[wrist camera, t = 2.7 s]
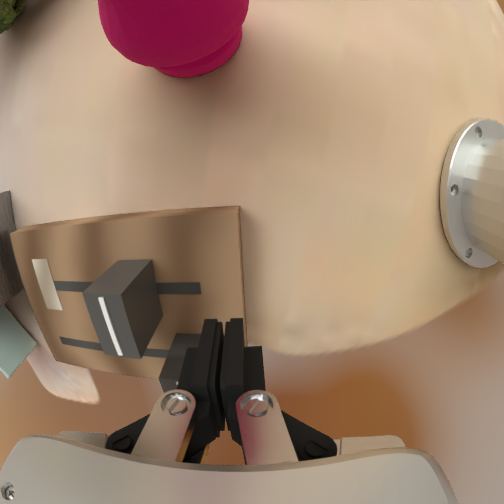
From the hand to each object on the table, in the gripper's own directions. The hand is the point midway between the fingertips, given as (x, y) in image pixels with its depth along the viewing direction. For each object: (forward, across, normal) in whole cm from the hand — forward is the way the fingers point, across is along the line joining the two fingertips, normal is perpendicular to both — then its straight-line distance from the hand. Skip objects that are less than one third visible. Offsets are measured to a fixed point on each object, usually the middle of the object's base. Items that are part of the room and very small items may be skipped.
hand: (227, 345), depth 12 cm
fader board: (+7, +9, +2) cm, 12 cm away
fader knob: (+5, +6, 0) cm, 8 cm away
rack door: (+8, +26, +5) cm, 28 cm away
